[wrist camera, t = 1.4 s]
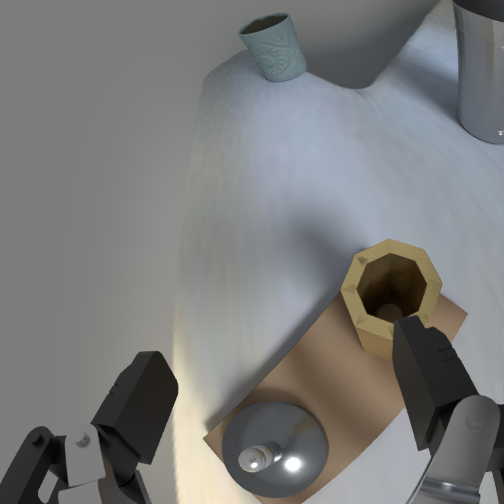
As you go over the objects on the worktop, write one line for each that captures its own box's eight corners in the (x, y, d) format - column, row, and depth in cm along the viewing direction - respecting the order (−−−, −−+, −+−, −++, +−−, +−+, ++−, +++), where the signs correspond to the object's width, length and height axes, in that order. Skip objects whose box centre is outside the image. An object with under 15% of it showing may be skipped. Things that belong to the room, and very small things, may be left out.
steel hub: (259, 383, 24) (226, 379, 19) (349, 429, 19) (339, 441, 14) (214, 458, 22) (174, 468, 17) (293, 509, 17) (268, 535, 12)
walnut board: (372, 256, 27) (369, 229, 23) (463, 317, 20) (479, 301, 16) (210, 437, 24) (180, 441, 20) (284, 513, 18) (263, 533, 14)
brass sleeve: (372, 289, 24) (364, 231, 16) (425, 308, 21) (448, 257, 13) (348, 344, 22) (328, 315, 14) (403, 366, 20) (419, 350, 12)
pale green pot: (299, 56, 51) (278, 9, 41) (320, 70, 45) (298, 16, 35) (257, 74, 53) (232, 29, 43) (272, 91, 47) (244, 38, 37)
